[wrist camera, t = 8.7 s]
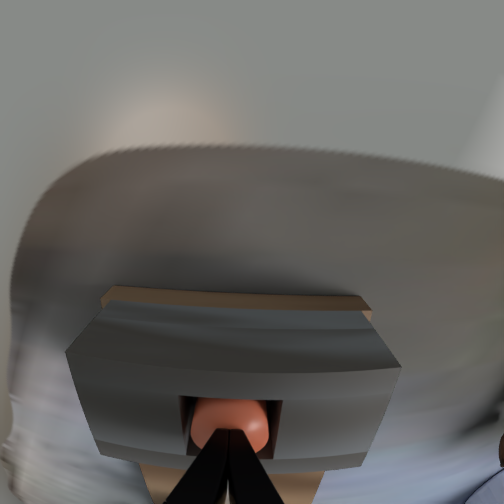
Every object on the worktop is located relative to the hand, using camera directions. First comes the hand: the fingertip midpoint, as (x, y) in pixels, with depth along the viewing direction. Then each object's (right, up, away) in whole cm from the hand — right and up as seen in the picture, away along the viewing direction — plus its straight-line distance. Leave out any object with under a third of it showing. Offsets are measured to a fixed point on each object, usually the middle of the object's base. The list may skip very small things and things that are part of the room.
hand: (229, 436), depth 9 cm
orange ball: (0, +1, +2) cm, 2 cm away
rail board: (-1, -8, +8) cm, 11 cm away
